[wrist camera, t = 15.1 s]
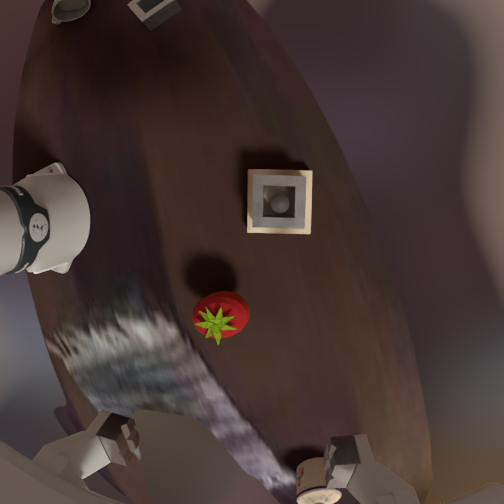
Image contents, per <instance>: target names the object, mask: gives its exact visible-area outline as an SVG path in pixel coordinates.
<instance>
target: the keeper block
mask: <svg viewBox="0 0 504 504" xmlns="http://www.w3.org/2000/svg"><path fill="white" fill-rule="evenodd" d="M253 175H285V176H306V207H305V229H292V228H261V227H252V207H253ZM293 196H294V187H292V186H265V198H264V214H269V215H293ZM311 207H312V171H306V170H273V169H248V216H247V233H288V234H311Z"/></svg>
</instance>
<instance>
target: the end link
mask: <svg viewBox="0 0 504 504" xmlns="http://www.w3.org/2000/svg"><path fill="white" fill-rule="evenodd" d="M265 186H292V187H294V196H293V215H269V214H264V198H265ZM305 207H306V176H285V175H253V207H252V227H261V228H292V229H305Z"/></svg>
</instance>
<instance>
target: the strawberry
mask: <svg viewBox="0 0 504 504" xmlns="http://www.w3.org/2000/svg"><path fill="white" fill-rule="evenodd" d="M192 317H193V324H194V326H195V328H196V329H197V330H198V331H199V332H201V333H202V334H204V335H206V338H208V337H213V338H216V341H217V344H218V345H219V342H220V339H221V338H225V337H229V336H232V335H234V334H236V333H238V332H239V331H241V330H242V329H243V327H244V326H245V325H246V323H247V322H248V320H249V317H250V309H249V306H248V304H247V303H246V301H245V300H244V299H243V297H241V296H240V295H239V294H237V293H234V292H231V291H219V292H215V293H212V294H210V295H208V296H206V297H204V298H202V299H201V300H200V301H199V302H198V303H197V304H196V306H195V308H194V311H193V316H192Z"/></svg>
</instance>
